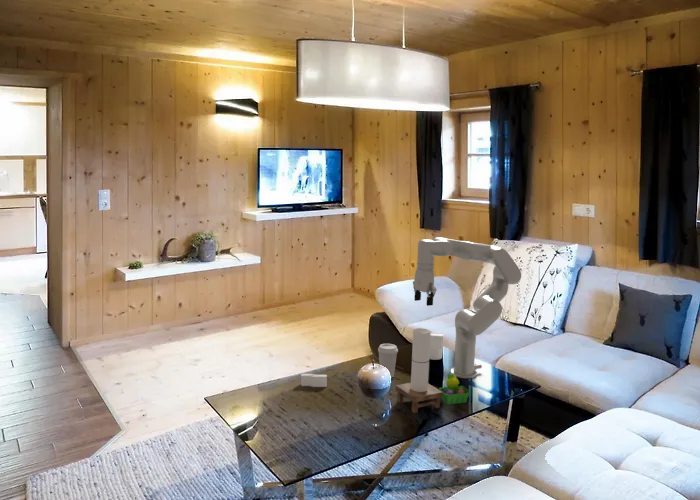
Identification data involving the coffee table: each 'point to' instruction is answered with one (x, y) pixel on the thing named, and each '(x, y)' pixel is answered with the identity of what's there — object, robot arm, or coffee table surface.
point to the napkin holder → (313, 380)
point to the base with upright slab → (436, 346)
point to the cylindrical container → (420, 359)
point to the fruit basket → (454, 391)
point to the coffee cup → (388, 356)
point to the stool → (419, 396)
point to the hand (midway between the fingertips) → (423, 302)
